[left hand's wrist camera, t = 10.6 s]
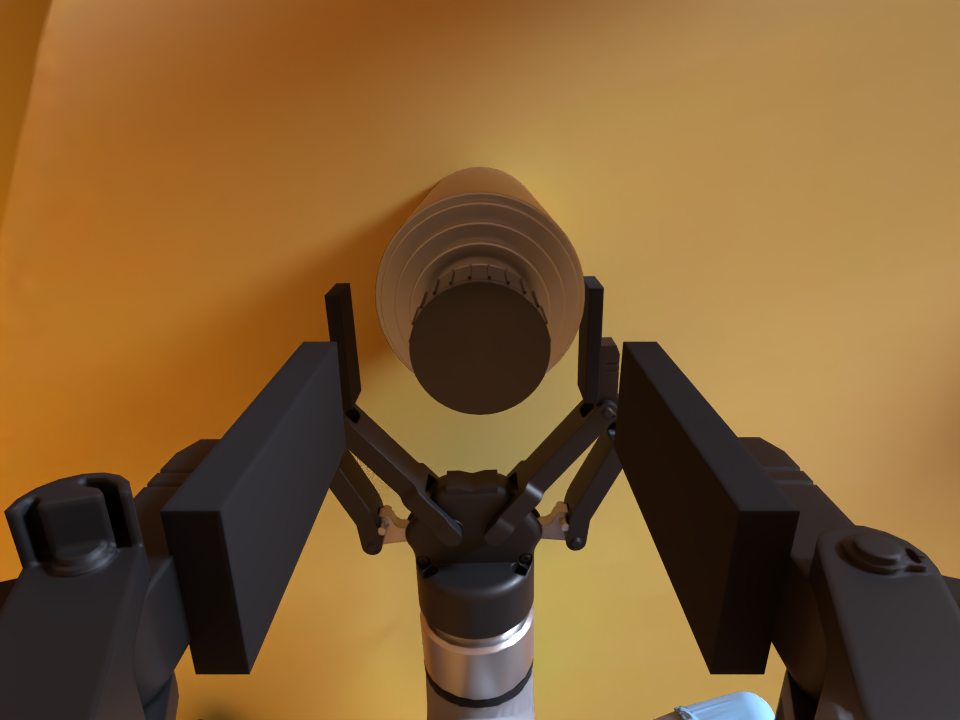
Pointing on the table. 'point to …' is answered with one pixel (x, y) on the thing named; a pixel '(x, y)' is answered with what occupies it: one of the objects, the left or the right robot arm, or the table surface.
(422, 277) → the bottle
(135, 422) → the table surface
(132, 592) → the left robot arm
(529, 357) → the cap
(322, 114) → the table surface
